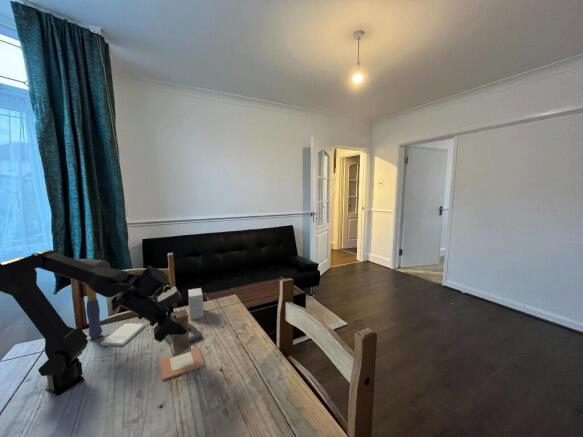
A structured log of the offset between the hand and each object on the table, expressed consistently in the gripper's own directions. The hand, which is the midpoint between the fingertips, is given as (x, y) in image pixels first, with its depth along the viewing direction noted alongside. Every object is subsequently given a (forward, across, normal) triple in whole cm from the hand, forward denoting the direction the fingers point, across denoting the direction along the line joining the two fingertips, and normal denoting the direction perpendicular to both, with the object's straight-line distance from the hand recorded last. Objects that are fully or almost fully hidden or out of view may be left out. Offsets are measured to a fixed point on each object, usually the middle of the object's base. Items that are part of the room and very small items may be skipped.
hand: (184, 328), depth 79 cm
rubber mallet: (-11, +31, +28) cm, 43 cm away
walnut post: (+4, 0, +6) cm, 7 cm away
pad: (+7, 0, +9) cm, 12 cm away
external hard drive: (-4, +27, +21) cm, 35 cm away
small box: (+14, +30, +2) cm, 33 cm away
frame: (+9, +14, +8) cm, 18 cm away
